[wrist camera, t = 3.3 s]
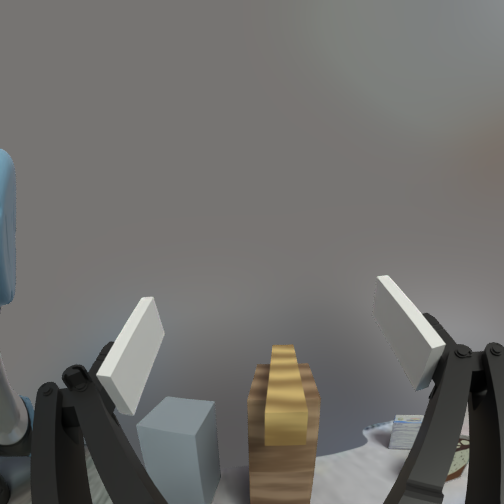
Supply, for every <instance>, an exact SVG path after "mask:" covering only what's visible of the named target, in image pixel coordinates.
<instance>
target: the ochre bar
mask: <svg viewBox="0 0 504 504" xmlns="http://www.w3.org/2000/svg"><path fill="white" fill-rule="evenodd" d="M307 422H308V409H307V404H306V400H305V395H304V391H303V386H302V382H301V377H300V373H299V368H298V364H297V360H296V355H295V351H294V346H293V345H273V347H272V355H271V365H270V373H269V382H268V391H267V399H266V407H265V446H287V445H306V437H307Z"/></svg>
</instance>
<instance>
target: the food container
mask: <svg viewBox="0 0 504 504" xmlns="http://www.w3.org/2000/svg"><path fill="white" fill-rule="evenodd" d="M468 462H469V436H466V435H460V437H459V441H458V445H457V448H456V451H455V455H454V458H453V461H452V464H451V467H450V470H449V473H448V476H447V478H446V481H445V483H447V482H450V481H453V480H455V479H458V478H460V477H461V475H462V473H463V471H464V470H465V468H466V466H467V464H468Z"/></svg>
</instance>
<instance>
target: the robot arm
mask: <svg viewBox="0 0 504 504" xmlns="http://www.w3.org/2000/svg"><path fill="white" fill-rule="evenodd" d="M15 232H16V174H15V168H14V164H13V161H12V159H11V157H10V156H9V154H8V153H7V152H6V151H4V150H2V149H0V313H1V309H2V305H6V304H9V303H10V302H11V301H12V300H13V298H14V295H15V285H16V248H15ZM372 316H373V318H374V320H375V321H376V323H377V325H378V326H379V328H380V330H381V331H382V333H383V335H384V336H385V338H386V340H387V341H388V343H389V345H390V347H391V348H392V350H393V352H394V354H395V355H396V357H397V359H398V361H399V362H400V364H401V366H402V368H403V369H404V372H405V373H406V375H407V377H408V379H409V381H410V382H411V384H412V386H413V388H414V390H415V391H418V390H421V389H424V388H427V387H428V386H429V384H430V382H431V380H432V379H433V381H434V383H435V386H434V388H433V390H432V392H431V394H430V396H429V399H430V400H429V404H428V406H427V409H426V412H425V415H424V418H423V421H422V423H421V426H420V429H419V431H418V434H417V436H416V439H415V441H414V444H413V446H412V448H411V451H410V453H409V455H408V457H407V459H406V462H405V464H404V466H403V468H402V470H401V472H400V474H399V476H398V478H397V480H396V482H395V484H394V485H393V487H392V489H391V491H390V493H389V494H388V496H387V498H386V500H385V501H384V503H383V504H442V501H443V497H444V495H443V494H442V489H443V486H444V484H445V481H446V478H447V476H448V473H449V470H450V467H451V464H452V461H453V458H454V455H455V451H456V448H457V445H458V441H459V437H460V433H461V429H462V425H463V421H464V417H465V412H466V407H467V402H468V412H469V469H468V482H467V492H466V499H465V504H504V347H503V346H502V345H500V344H498V343H494V342H493V343H489V344H487V346H486V348H485V350H484V351H482V352H481V351H480V352H472V350H471V349H470V348H469V347H467V346H465V345H461V344H456V343H455V341H454V340H453V339H452V338H451V337H450V335H449V334H448V333H447V332H446V331H445V329H443V327H442V326H441V325H440V324H439V322H438V321H437V320H436V319H435V317H433V316H431V315H430V314H428V313H424V314H421V313H420V311H419V310H418V309H417V308H416V307H415V306H414V304H413V303H412V302H411V301H410V300H409V298H408V297H407V296H406V295H405V294H404V293H403V292H402V290H401V289H400V288H399V287H398V286H397V285H396V284H395V283H394V282H393V280H392V279H391V278H390V277H389V276H388V275H386V276H378V277H377V279H376V288H375V297H374V304H373V311H372ZM164 335H165V332H164V329H163V327H162V323H161V320H160V317H159V314H158V310H157V307H156V304H155V300H154V297H142V299H141V300H140V302H139V303H138V305H137V306H136V308H135V310H134V311H133V313H132V314H131V316H130V318H129V319H128V321H127V323H126V324H125V326H124V327H123V329H122V331H121V332H120V334H119V336H118V337H117V339H116V341H115V342H109V343H108V344H107V345H105V346H104V347H103V349H102V350H101V352H100V354H99V356H98V357H97V359H96V361H95V362H94V364H93V365H92V367H91V369H90V371H89V372H87V370H86V369H85V367H84V366H82V365H73V366H70V367H69V368H67V369H66V370H65V371H64V372H63V375H62V380H63V382H64V383H65V385H66V386H67V388H64V389H59V388H58V386H57V385H56V383H54V382H47V383H44V384H43V385H42V386H41V387H40V388H39V389H38V392H37V397H36V403H35V411H34V410H33V406H32V403H31V401H30V399H29V398H28V397H24V396H21V395H18V394H17V393H16V392H15V391H14V390H13V389H12V388H11V387H10V384H9V381H8V378H7V375H6V372H5V368H4V365H3V360H2V357H1V352H0V456H1V457H12V456H28V457H31V497H32V504H92V499H91V494H90V488H89V482H88V476H87V468H86V460H85V451H84V439H83V435H84V438H85V441H86V444H87V446H88V449H89V452H90V454H91V457H92V459H93V461H94V464H95V466H96V468H97V471H98V473H99V475H100V477H101V480H102V482H103V484H104V486H105V488H106V490H107V492H108V494H109V496H110V498H111V500H112V502H113V504H168V502H167V501H166V500H165V498H164V497H163V496H162V494H161V493H160V491H159V490H158V488H157V487H156V486H155V484H154V483H153V481H152V480H151V478H150V476H149V475H148V473H147V472H146V470H145V469H144V467H143V465H142V464H141V462H140V460H139V459H138V457H137V455H136V454H135V452H134V450H133V448H132V447H131V445H130V443H129V441H128V439H127V437H126V436H125V434H124V432H123V430H122V428H121V426H120V424H119V422H118V420H117V418H116V416H115V414H114V413H113V411H114V409H115V407H116V408H117V409H118V411H119V412H120V414H126V415H134V414H135V411H136V408H137V406H138V403H139V400H140V397H141V394H142V391H143V389H144V386H145V384H146V381H147V378H148V376H149V373H150V371H151V368H152V365H153V363H154V360H155V357H156V355H157V352H158V350H159V347H160V345H161V342H162V340H163V337H164ZM9 496H10V492H9V488H8V486H7V484H6V482H5V480H4V478H3V477H2V475H1V474H0V504H6V503H7V502H8V500H9Z"/></svg>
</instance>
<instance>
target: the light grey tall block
mask: <svg viewBox="0 0 504 504" xmlns="http://www.w3.org/2000/svg"><path fill="white" fill-rule="evenodd" d="M136 426H137V431H138V437H139V441H140V446H141V450H142V455H143V459H144V464H145V468H146V472H147V473H148V475H149V476H150V478H151V480H152V481H153V483H154V484H155V486H156V487H157V488H158V490H159V491H160V493H161V494H162V496H163V497H164V498H165V500H166V501H167V502H168V504H211V503H212V500H213V497H214V494H215V491H216V488H217V486H218V483H219V480H220V477H221V474H220V465H219V453H218V441H217V428H216V414H215V402H214V401H203V400H193V399H184V398H176V397H168V396H167V397H166V398H165V399H164V400H163V401H162V402H160V403H159V404H158V405H157V406H156V407H155V408H154V409H153V410H152V411H151V412H150V413H149V414H148V415H147V416H146V417H144V418H143V420H141V421H140V422H139V423H138V424H137V425H136Z"/></svg>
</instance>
